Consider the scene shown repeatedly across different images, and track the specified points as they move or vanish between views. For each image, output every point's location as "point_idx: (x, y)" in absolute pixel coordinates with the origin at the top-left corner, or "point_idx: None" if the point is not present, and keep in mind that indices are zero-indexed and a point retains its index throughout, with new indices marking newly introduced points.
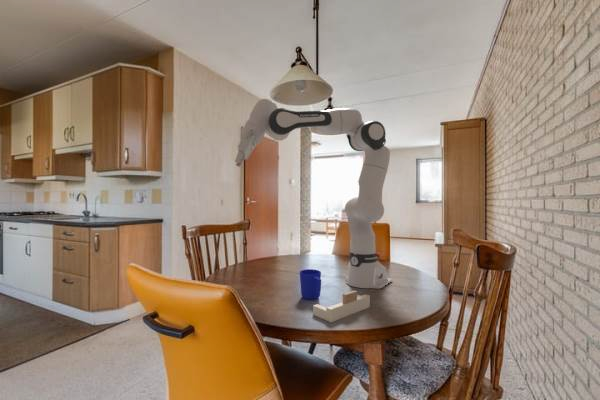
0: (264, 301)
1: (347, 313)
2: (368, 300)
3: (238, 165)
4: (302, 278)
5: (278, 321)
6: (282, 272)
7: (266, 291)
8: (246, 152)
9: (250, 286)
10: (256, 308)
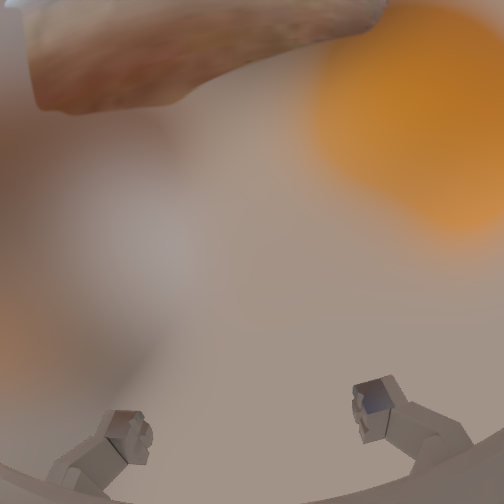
0: (281, 23)
1: None
2: None
3: (143, 421)
4: None
5: (372, 7)
6: (48, 37)
7: (213, 26)
8: (479, 453)
9: (176, 69)
10: (318, 36)
